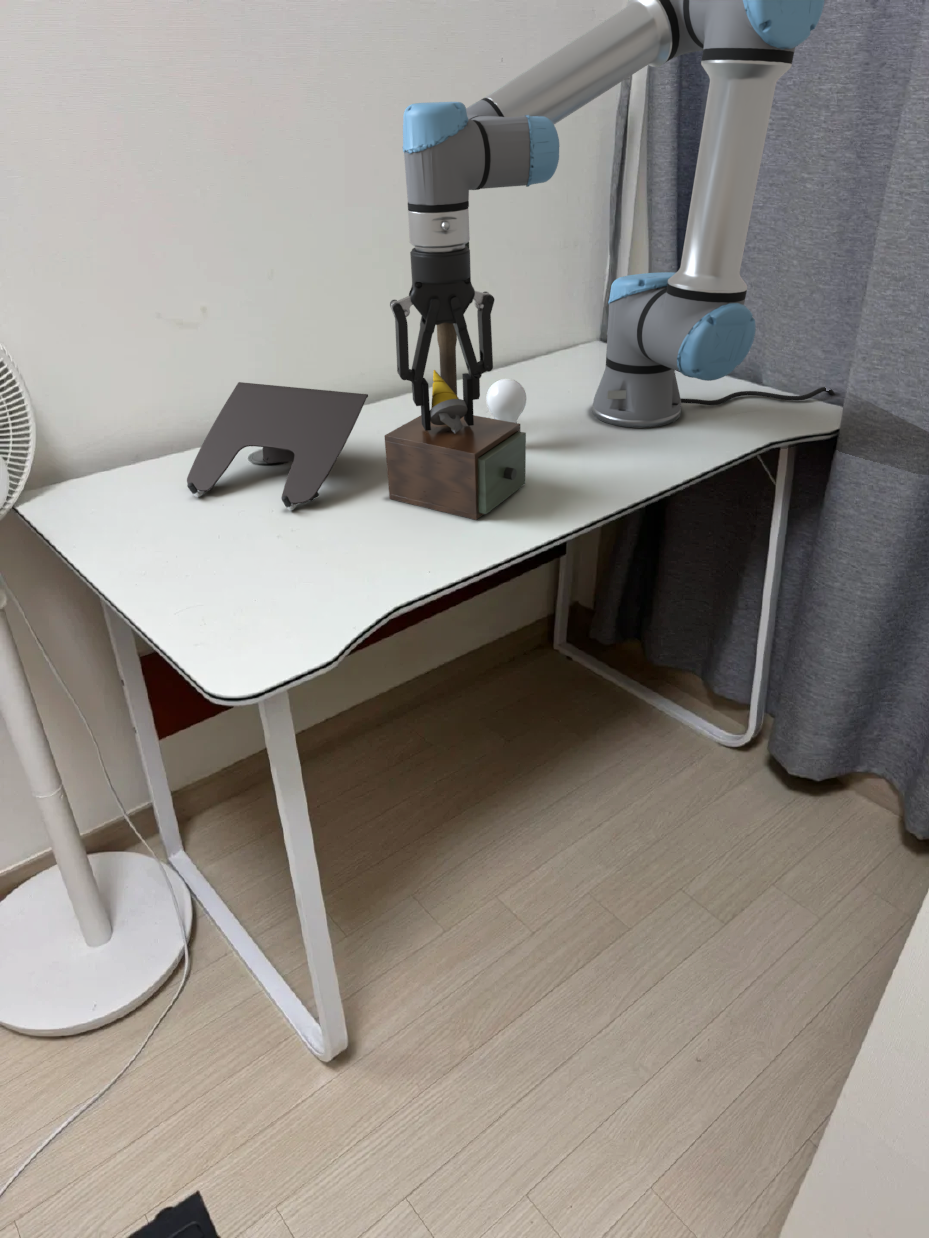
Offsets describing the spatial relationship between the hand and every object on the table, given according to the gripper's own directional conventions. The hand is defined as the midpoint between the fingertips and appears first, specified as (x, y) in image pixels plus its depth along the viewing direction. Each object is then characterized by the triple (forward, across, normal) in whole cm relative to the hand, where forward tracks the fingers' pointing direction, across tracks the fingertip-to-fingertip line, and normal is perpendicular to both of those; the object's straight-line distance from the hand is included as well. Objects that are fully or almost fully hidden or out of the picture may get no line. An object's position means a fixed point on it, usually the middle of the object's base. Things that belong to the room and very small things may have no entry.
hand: (447, 424), depth 120 cm
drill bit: (0, -1, 0) cm, 1 cm away
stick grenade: (+10, +6, +24) cm, 27 cm away
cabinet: (+10, +1, -1) cm, 10 cm away
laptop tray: (+10, -24, +12) cm, 29 cm away
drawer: (+9, +2, -2) cm, 10 cm away
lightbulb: (+10, +13, +14) cm, 22 cm away
